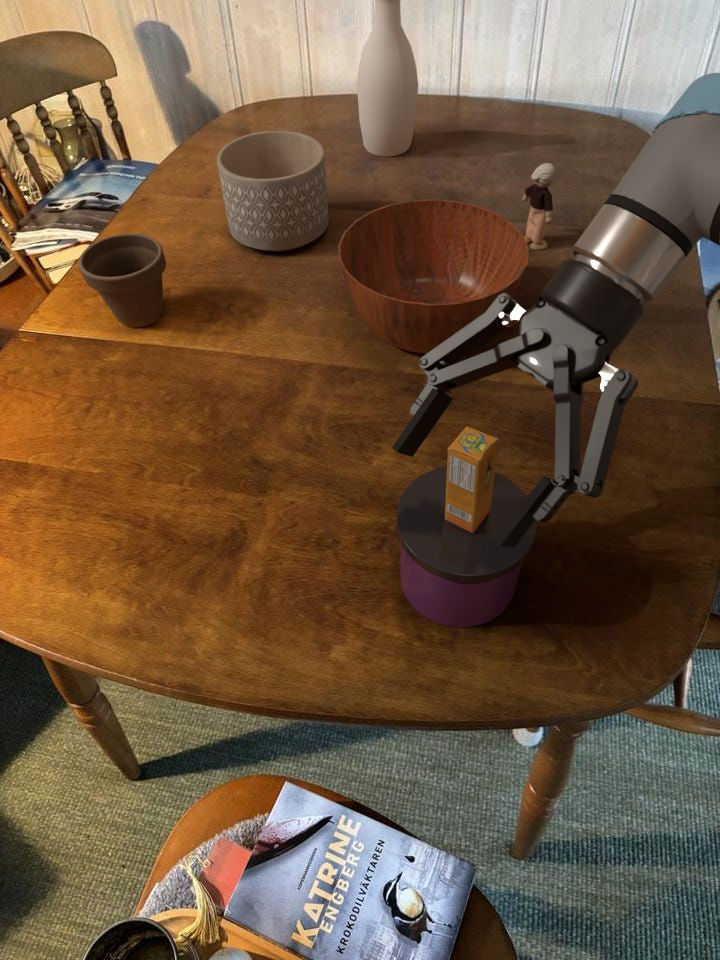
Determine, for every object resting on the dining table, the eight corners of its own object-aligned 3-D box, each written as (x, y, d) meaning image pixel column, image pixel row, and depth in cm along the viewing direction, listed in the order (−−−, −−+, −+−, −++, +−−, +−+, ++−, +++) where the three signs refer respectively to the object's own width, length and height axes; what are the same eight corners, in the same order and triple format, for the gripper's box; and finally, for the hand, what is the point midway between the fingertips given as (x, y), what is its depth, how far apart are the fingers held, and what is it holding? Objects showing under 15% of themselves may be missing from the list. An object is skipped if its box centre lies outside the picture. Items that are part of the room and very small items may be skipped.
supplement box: (458, 496, 69) (467, 422, 61) (490, 512, 67) (503, 438, 60) (440, 519, 67) (447, 445, 59) (472, 536, 66) (484, 463, 58)
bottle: (402, 164, 133) (405, 7, 114) (348, 153, 136) (342, -1, 117) (425, 139, 139) (431, -15, 120) (373, 129, 143) (371, -21, 123)
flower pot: (83, 320, 105) (59, 259, 97) (142, 283, 111) (124, 223, 103) (136, 349, 100) (115, 288, 92) (194, 309, 106) (179, 248, 98)
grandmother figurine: (558, 247, 114) (574, 169, 104) (540, 256, 112) (555, 177, 103) (525, 227, 118) (537, 150, 108) (507, 234, 117) (518, 157, 107)
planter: (342, 244, 116) (338, 167, 106) (243, 266, 113) (230, 189, 103) (311, 197, 126) (305, 123, 116) (220, 216, 123) (206, 141, 113)
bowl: (390, 399, 92) (390, 328, 84) (314, 296, 107) (308, 226, 98) (552, 343, 99) (568, 271, 90) (460, 253, 114) (466, 183, 105)
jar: (534, 547, 77) (550, 486, 69) (501, 650, 69) (516, 595, 61) (419, 512, 80) (423, 450, 73) (376, 606, 73) (375, 549, 65)
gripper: (754, 372, 53) (573, 591, 59) (514, 235, 66) (385, 425, 72) (738, 345, 47) (538, 591, 53) (477, 199, 60) (340, 410, 66)
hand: (450, 496), depth 62 cm, fingers open, 12 cm apart
